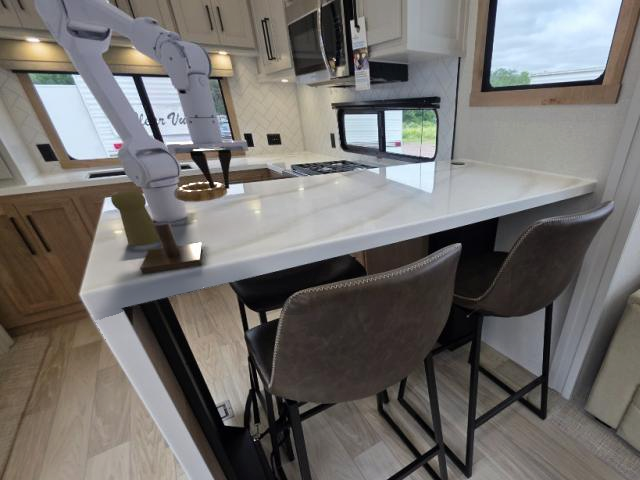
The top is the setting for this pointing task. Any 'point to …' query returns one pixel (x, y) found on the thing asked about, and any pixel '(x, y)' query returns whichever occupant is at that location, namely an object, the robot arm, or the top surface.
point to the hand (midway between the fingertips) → (220, 188)
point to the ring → (200, 192)
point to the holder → (170, 252)
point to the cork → (135, 217)
